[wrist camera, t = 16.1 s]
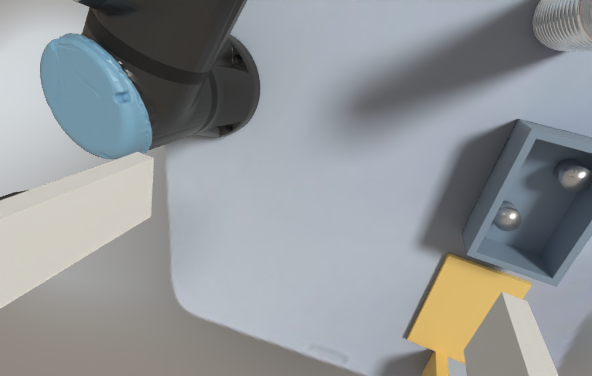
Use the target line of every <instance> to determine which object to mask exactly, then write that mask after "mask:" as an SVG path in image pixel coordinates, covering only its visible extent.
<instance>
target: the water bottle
mask: <svg viewBox="0 0 592 376" xmlns="http://www.w3.org/2000/svg"><path fill="white" fill-rule="evenodd" d="M532 27H533V32H534V35H535V37H536V38H537V40H538V41H539V42H540V43H541V44H543V45H544V46H546V47H548V48H550V49H553V50H558V51H592V0H540V2H539V3H538V5H537V7H536V9H535V12H534V15H533V20H532Z"/></svg>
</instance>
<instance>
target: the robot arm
mask: <svg viewBox="0 0 592 376" xmlns="http://www.w3.org/2000/svg"><path fill="white" fill-rule="evenodd" d="M74 1H76V2H79V3H81V4H84V5H86V6H89V7H90V8H89V12H88V15H87V19H86V22H85V26H84V29H83V32H82V34H81V35H79V34H72V33H69V34H65V35H64V36H62V37H60V38H59V39H54V40H52V41H51V42H50V43H49V44H48V45H47V46H46V48H45V50H44V52H43V54H42V58H41V63H40V77H41V83H42V88H43V91H44V95H45V98H46V101H47V103H48V105H49V107H50V108H51V110H52V113H53V115H54V117H55V119H56V120H57V122H58V123H59V125H60V126H61V128H62V129H63V130H64V131H65V133H66V134H67V135H68V136H69V137H70V138H71V139H72V140H73V141H74V142H75V143H76V144H77V145H79V146H80V147H81V148H83V149H84V150H86V151H87V152H89V153H91V154H93V155H95V156H98V157H101V158H105V159H116V160H113V161H110V162H108V163H105V164H102V165H99V166H96V167H93V168H91V169H88V170H85V171H82V172H79V173H77V174H74V175H71V176H68V177H65V178H62V179H60V180H57V181H54V182H51V183H48V184H45V185H43V186H40V187H37V188H34V189H31V190H27V191H21V192H15V193H11V194H8V195H5V196H3V197H0V308H2V307H4V306H5V305H7V304H8V303H10V302H12V301H13V300H15V299H17V298H18V297H20V296H21V295H23V294H25V293H26V292H28V291H30V290H31V289H33V288H35V287H36V286H38V285H40V284H41V283H43V282H45V281H46V280H48V279H49V278H51V277H53V276H54V275H56V274H58V273H59V272H61V271H63V270H64V269H66V268H68V267H69V266H71V265H72V264H74V263H76V262H77V261H79V260H81V259H82V258H84V257H86V256H87V255H89V254H90V253H92V252H94V251H95V250H97V249H98V248H100V247H102V246H103V245H105V244H107V243H109V242H110V241H112V240H113V239H115V238H117V237H118V236H120V235H121V234H123V233H125V232H127V231H128V230H130V229H131V228H133V227H135V226H136V225H138V224H140V223H141V222H143V221H145V220H146V219H148V218H149V217H151V204H152V184H153V165H154V158H153V157H150V156H148V155H145V154H144V153H146V151H148V150H151V149H153V148H156V147H159V146H162V145H165V144H167V143H170V142H173V141H176V140H179V139H181V138H184V137H187V136H190V135H192V134H194V135H200V136H206V137H221V136H225V135H228V134H231V133H233V132H236V131H238V130H240V129H241V128H242V127H244V126H245V125H246V124H247V123H248V122H249V121H250V119H251V118H252V116H253V115H254V113H255V111H256V108H257V105H258V102H259V96H260V80H259V75H258V71H257V67H256V65H255V62H254V60H253V58H252V56H251V55H250V53H249V51H248V50H247V49H246V47H245V46H244V45H243V44H242V43H241V42H240V41H239V40H238V39H236V38H235V37H234V36H232V35H230V33H231V31H232V29H233V27H234V25H235V23H236V21H237V19H238V17H239V15H240V13H241V11H242V9H243V7H244V5H245V4H246V2H247V0H74ZM464 357H465V364H466V372H467V376H558V374H557V371H556V369H555V367H554V364H553V362H552V359H551V357H550V355H549V352H548V350H547V347H546V345H545V342H544V340H543V338H542V335H541V333H540V330H539V328H538V326H537V323H536V321H535V318H534V316H533V314H532V311H531V309H530V306H529V304H528V301H525V300H522V299H520V298H517V297H515V296H512V295H509V294H507V293H504V292H501V294H500V295H499V297H498V298H497V300H496V301H495V303H494V304H493V306H492V307H491V309H490V310H489V312H488V314H487V315H486V317H485V318H484V320H483V321H482V323H481V324H480V326H479V327H478V329H477V330H476V332H475V334H474V335H473V337H472V338H471V340H470V341H469V343H468V344H467V346H466V347H465V349H464Z"/></svg>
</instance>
